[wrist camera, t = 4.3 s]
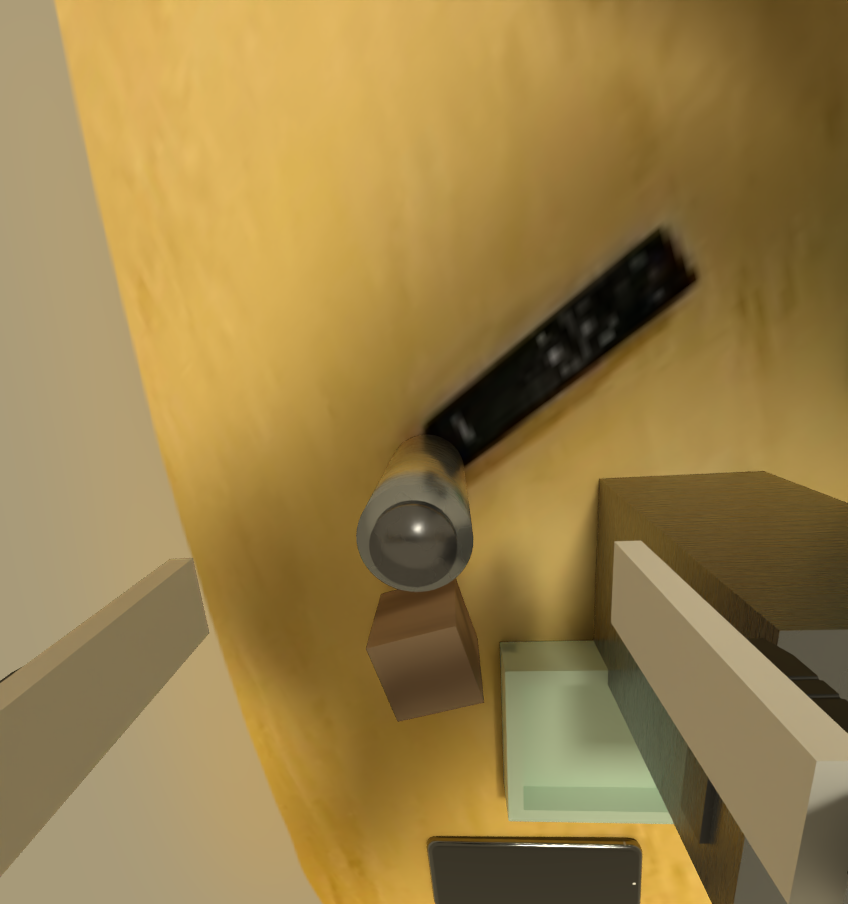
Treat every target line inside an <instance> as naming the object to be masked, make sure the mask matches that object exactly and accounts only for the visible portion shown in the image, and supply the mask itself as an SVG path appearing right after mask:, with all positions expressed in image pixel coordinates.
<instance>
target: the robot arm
mask: <svg viewBox="0 0 848 904" xmlns="http://www.w3.org/2000/svg"><path fill="white" fill-rule="evenodd" d="M611 623H612V625H613V626H614V628H615V630H616V631H617V633H618V634H619V636H620V638H621V639H622V641H623V642H624V644H625V646H626V647H627V649H628V650H629V652H630V654H631V655H632V657H633V658H634V660H635V662H636V663H637V665H638V666H639V668H640V670H641V671H642V673H643V674H644V676H645V677H646V679H647V681H648V682H649V684H650V685H651V687H652V689H653V690H654V692H655V693H656V695H657V697H658V698H659V700H660V701H661V703H662V705H663V706H664V708H665V709H666V711H667V713H668V714H669V716H670V717H671V719H672V721H673V722H674V724H675V725H676V727H677V729H678V730H679V732H680V733H681V735H682V737H683V738H684V740H685V741H686V743H687V744H688V746H689V748H690V749H691V751H692V752H693V754H694V756H695V757H696V759H697V760H698V762H699V764H700V765H701V767H702V768H703V770H704V772H705V773H706V775H707V776H708V778H709V780H710V781H711V783H712V784H713V786H714V788H715V789H716V791H717V792H718V794H719V796H720V797H721V799H722V800H723V802H724V803H725V805H726V807H727V808H728V810H729V811H730V813H731V815H732V816H733V818H734V819H735V821H736V823H737V824H738V826H739V827H740V829H741V831H742V832H743V834H744V835H745V837H746V839H747V840H748V842H749V843H750V845H751V847H752V848H753V850H754V851H755V853H756V855H757V856H758V858H759V859H760V861H761V863H762V864H763V866H764V867H765V869H766V870H767V872H768V874H769V875H770V877H771V878H772V880H773V882H774V883H775V885H776V886H777V888H778V890H779V891H780V893H781V894H782V896H783V898H784V899H785V901H786V902H787V904H843V901H844V897H845V893H846V888H847V884H848V701H847V700H846V699H841V698H840V696H839V694H838V693H837V692H836V691H835V690H834V689H833V688H831V687H830V686H829V685H828V684H827V683H826V682H824V681H823V680H819V678H818V676H817V675H816V674H815V673H814V672H813V671H812V670H810V669H809V668H808V667H807V666H806V665H805V664H803V663H802V662H801V661H800V660H799V659H797V658H796V657H795V656H794V655H793V654H791V653H789V652H787V651H785V650H784V649H782V648H780V647H778V646H777V645H775V644H773V643H771V642H769V641H768V640H766V639H764V638H745V637H744V636H743V635H742V634H741V633H740V632H738V631H737V630H736V629H735V628H734V627H733V626H732V625H731V624H730V623H729V622H728V621H727V620H726V619H725V618H723V617H722V616H721V615H720V614H719V613H718V612H717V611H716V610H715V609H714V608H713V607H712V606H711V605H710V604H708V603H707V602H706V601H705V600H704V599H703V598H702V597H701V596H700V595H699V594H698V593H697V592H696V591H695V590H693V589H692V588H691V587H690V586H689V585H688V584H687V583H686V582H685V581H684V580H683V579H682V578H681V577H680V576H678V575H677V574H676V573H675V572H674V571H673V570H672V569H671V568H670V567H669V566H668V565H667V564H666V563H665V562H663V561H662V560H661V559H660V558H659V557H658V556H657V555H656V554H655V553H654V552H653V551H652V550H651V549H650V548H648V547H647V546H646V545H645V544H644V543H643V542H642V541H641V540H639V541H614V562H613V585H612V608H611ZM208 634H209V629H208V625H207V621H206V616H205V611H204V607H203V603H202V598H201V593H200V589H199V584H198V580H197V575H196V571H195V566H194V562H193V558H183V559H169V560H168V561H167V562H165V563H164V564H162V565H161V566H160V567H158V568H157V569H156V570H154V571H153V572H151V573H150V574H149V575H147V576H146V577H145V578H143V579H142V580H141V581H139V582H138V583H136V584H135V585H134V586H132V587H131V588H130V589H128V590H127V591H126V592H124V593H123V594H121V595H120V596H119V597H117V598H116V599H115V600H113V601H112V602H110V603H109V604H108V605H107V606H105V607H104V608H103V609H101V610H100V611H98V612H97V613H96V614H94V615H93V616H91V617H90V618H89V619H87V620H86V621H85V622H83V623H82V624H81V625H79V626H78V627H76V628H75V629H74V630H72V631H71V632H70V633H68V634H67V635H66V636H64V637H63V638H61V639H60V640H59V641H57V642H56V643H55V644H53V645H52V646H50V647H49V648H48V649H46V650H45V651H44V652H42V653H41V654H40V655H38V656H37V657H35V658H34V659H33V660H31V661H30V662H29V663H27V664H26V665H25V666H23V667H21V668H19V669H18V670H16V671H14V672H12V673H11V674H9V675H8V676H7V677H5V678H4V679H2V680H1V681H0V877H1V876H2V874H3V873H4V872H5V871H6V870H7V869H8V868H9V866H10V865H11V864H12V863H13V862H14V860H15V859H16V858H17V857H18V856H19V855H20V853H21V852H22V851H23V850H24V849H25V848H26V846H27V845H28V844H29V843H30V842H31V841H32V839H33V838H34V837H35V836H36V835H37V834H38V832H39V831H40V830H41V829H42V828H43V827H44V825H45V824H46V823H47V822H48V821H49V820H50V818H51V817H52V816H53V815H54V814H55V813H56V811H57V810H58V809H59V808H60V807H61V806H62V804H63V803H64V802H65V801H66V800H67V799H68V797H69V796H70V795H71V794H72V793H73V792H74V790H75V789H76V788H77V787H78V786H79V784H80V783H81V782H82V781H83V780H84V779H85V778H86V776H87V775H88V774H89V773H90V772H91V770H92V769H93V768H94V767H95V766H96V765H97V763H98V762H99V761H100V760H101V759H102V758H103V756H104V755H105V754H106V753H107V752H108V751H109V749H110V748H111V747H112V746H113V745H114V744H115V742H116V741H117V740H118V739H119V738H120V737H121V735H122V734H123V733H124V732H125V731H126V730H127V728H128V727H129V726H130V725H131V724H132V723H133V721H134V720H135V719H136V718H137V717H138V716H139V714H140V713H141V712H142V711H143V710H144V708H145V707H146V706H147V705H148V704H149V703H150V702H151V700H152V699H153V698H154V697H155V696H156V694H157V693H158V692H159V691H160V690H161V689H162V688H163V686H164V685H165V684H166V683H167V682H168V680H169V679H170V678H171V677H172V676H173V674H175V672H176V671H177V670H178V669H179V668H180V666H181V665H182V664H183V663H184V662H185V661H186V659H187V658H188V657H189V656H190V655H191V654H192V652H193V651H194V650H195V649H196V648H197V647H198V645H199V644H200V643H201V642H202V641H203V640H204V638H205V637H206V636H207V635H208Z"/></svg>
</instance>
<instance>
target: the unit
mask: <svg viewBox="0 0 848 904" xmlns="http://www.w3.org/2000/svg"><path fill="white" fill-rule="evenodd" d="M639 540H641V541H642V542H643V543H644V544H645V545H646V546H647V547H648V548H650V549H651V550H652V551H653V552H654V553H655V554H656V555H657V556H658V557H659V558H660V559H661V560H662V561H663V562H665V563H666V564H667V565H668V566H669V567H670V568H671V569H672V570H673V571H674V572H675V573H676V574H677V575H678V576H680V577H681V578H682V579H683V580H684V581H685V582H686V583H687V584H688V585H689V586H690V587H691V588H692V589H693V590H695V591H696V592H697V593H698V594H699V595H700V596H701V597H702V598H703V599H704V600H705V601H706V602H707V603H708V604H710V605H711V606H712V607H713V608H714V609H715V610H716V611H717V612H718V613H719V614H720V615H721V616H722V617H723V618H725V619H726V620H727V621H728V622H729V623H730V624H731V625H732V626H733V627H734V628H735V629H736V630H737V631H738V632H740V633H741V634H742V635H743V636H744V637H745V638H764V639H766V640H768V641H769V642H771V643H773V644H775V645H777V646H778V647H780V648H782V649H784V650H785V651H787V652H789V653H791V654H793V655H794V656H795V657H796V658H797V659H799V660H800V661H801V662H802V663H803V664H805V665H806V666H807V667H808V668H809V669H810V670H812V671H813V672H814V673H815V674H816V675H817V676H818V678H819V680H823V681H824V682H826V683H827V684H828V685H829V686H830V687H831V688H833V689H834V690H835V691H836V692H837V693H838V694H839V696H840V698H841V699H846V700H847V701H848V503H846V502H844V501H841V500H838V499H836V498H833V497H830V496H828V495H825V494H822V493H820V492H817V491H815V490H812V489H809V488H807V487H804V486H801V485H799V484H796V483H793V482H791V481H788V480H786V479H783V478H780V477H778V476H775V475H772V474H770V473H767V472H764V471H758V472H736V473H715V474H693V475H672V476H650V477H628V478H607V479H600V481H599V507H598V533H597V559H596V585H595V611H594V637H593V641H594V643H595V645H596V647H597V649H598V651H599V653H600V655H601V657H602V659H603V661H604V663H605V665H606V667H607V669H608V686H609V688H610V691H611V693H612V695H613V697H614V699H615V701H616V703H617V705H618V707H619V709H620V711H621V714H622V716H623V718H624V720H625V722H626V724H627V726H628V728H629V730H630V732H631V735H632V737H633V739H634V741H635V743H636V745H637V747H638V749H639V751H640V753H641V755H642V758H643V760H644V762H645V764H646V766H647V768H648V770H649V772H650V774H651V776H652V779H653V781H654V783H655V785H656V787H657V789H658V791H659V793H660V795H661V797H662V800H663V802H664V804H665V806H666V808H667V810H668V812H669V814H670V816H671V818H672V820H673V823H674V825H675V827H676V829H677V831H678V833H679V835H680V837H681V839H682V841H683V844H684V846H685V848H686V850H687V852H688V854H689V856H690V858H691V860H692V862H693V864H694V867H695V869H696V871H697V873H698V875H699V877H700V879H701V881H702V883H703V885H704V888H705V890H706V892H707V894H708V896H709V898H710V900H711V902H712V904H787V902H786V901H785V899H784V898H783V896H782V894H781V893H780V891H779V890H778V888H777V886H776V885H775V883H774V882H773V880H772V878H771V877H770V875H769V874H768V872H767V870H766V869H765V867H764V866H763V864H762V863H761V861H760V859H759V858H758V856H757V855H756V853H755V851H754V850H753V848H752V847H751V845H750V843H749V842H748V840H747V839H746V837H745V835H744V834H743V832H742V831H741V829H740V827H739V826H738V824H737V823H736V821H735V819H734V818H733V816H732V815H731V813H730V811H729V810H728V808H727V807H726V805H725V803H724V802H723V800H722V799H721V797H720V796H719V794H718V792H717V791H716V789H715V788H714V786H713V784H712V783H711V781H710V780H709V778H708V776H707V775H706V773H705V772H704V770H703V768H702V767H701V765H700V764H699V762H698V760H697V759H696V757H695V756H694V754H693V752H692V751H691V749H690V748H689V746H688V744H687V743H686V741H685V740H684V738H683V737H682V735H681V733H680V732H679V730H678V729H677V727H676V725H675V724H674V722H673V721H672V719H671V717H670V716H669V714H668V713H667V711H666V709H665V708H664V706H663V705H662V703H661V701H660V700H659V698H658V697H657V695H656V693H655V692H654V690H653V689H652V687H651V685H650V684H649V682H648V681H647V679H646V677H645V676H644V674H643V673H642V671H641V670H640V668H639V666H638V665H637V663H636V662H635V660H634V658H633V657H632V655H631V654H630V652H629V650H628V649H627V647H626V646H625V644H624V642H623V641H622V639H621V638H620V636H619V634H618V633H617V631H616V630H615V628H614V626H613V625H612V623H611V608H612V585H613V562H614V541H639ZM843 904H848V884H847V888H846V893H845V897H844V901H843Z"/></svg>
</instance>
